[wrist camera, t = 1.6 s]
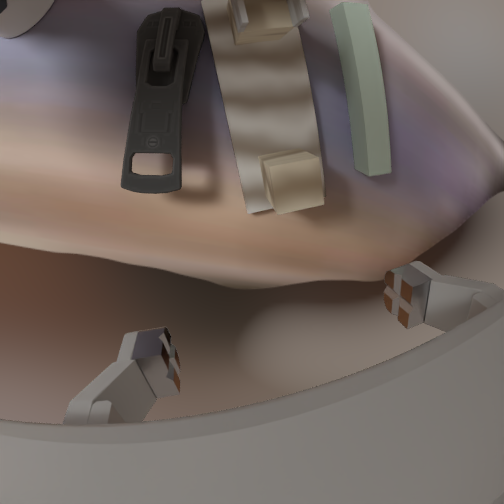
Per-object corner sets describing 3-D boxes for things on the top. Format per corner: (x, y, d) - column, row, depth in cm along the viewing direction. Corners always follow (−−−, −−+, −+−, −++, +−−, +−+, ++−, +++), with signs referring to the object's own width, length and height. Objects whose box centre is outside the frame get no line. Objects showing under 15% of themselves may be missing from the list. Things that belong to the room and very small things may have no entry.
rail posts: (201, 4, 28) (199, -35, 17) (286, -6, 29) (316, -42, 18) (246, 210, 44) (262, 250, 33) (322, 193, 44) (360, 226, 33)
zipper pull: (115, 193, 33) (133, 0, 22) (128, 180, 39) (144, 14, 28) (185, 195, 35) (208, -1, 24) (188, 182, 41) (208, 14, 30)
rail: (328, 10, 31) (342, 2, 26) (352, 12, 31) (367, 4, 27) (353, 168, 43) (369, 176, 39) (374, 165, 44) (391, 172, 39)
